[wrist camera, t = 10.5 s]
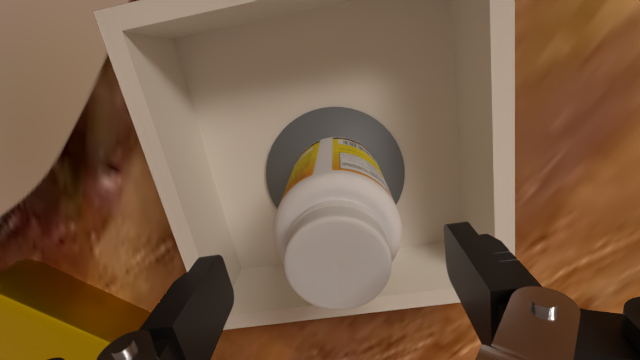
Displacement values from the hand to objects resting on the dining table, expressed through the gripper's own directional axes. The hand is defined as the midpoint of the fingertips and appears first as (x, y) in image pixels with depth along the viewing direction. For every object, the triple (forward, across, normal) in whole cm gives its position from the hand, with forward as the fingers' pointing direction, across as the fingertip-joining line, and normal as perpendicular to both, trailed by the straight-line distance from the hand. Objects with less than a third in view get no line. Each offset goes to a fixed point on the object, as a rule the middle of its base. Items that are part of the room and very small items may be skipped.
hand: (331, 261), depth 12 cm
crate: (+11, 0, -2) cm, 11 cm away
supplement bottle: (+10, 0, 0) cm, 10 cm away
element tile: (+11, +24, +13) cm, 30 cm away
